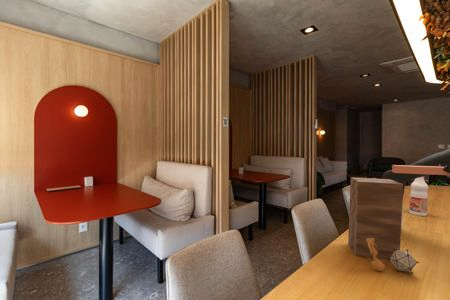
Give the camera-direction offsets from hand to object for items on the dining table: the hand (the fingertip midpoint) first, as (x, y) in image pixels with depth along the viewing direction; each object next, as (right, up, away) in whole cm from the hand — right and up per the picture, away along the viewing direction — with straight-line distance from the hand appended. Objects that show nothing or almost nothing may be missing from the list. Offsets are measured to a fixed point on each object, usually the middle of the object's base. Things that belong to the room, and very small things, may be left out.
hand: (441, 167), depth 92 cm
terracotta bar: (-5, -3, +2) cm, 6 cm away
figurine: (-31, -39, -6) cm, 50 cm away
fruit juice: (+44, -37, +63) cm, 86 cm away
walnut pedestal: (-23, -38, +8) cm, 46 cm away
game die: (-21, -39, -6) cm, 45 cm away
